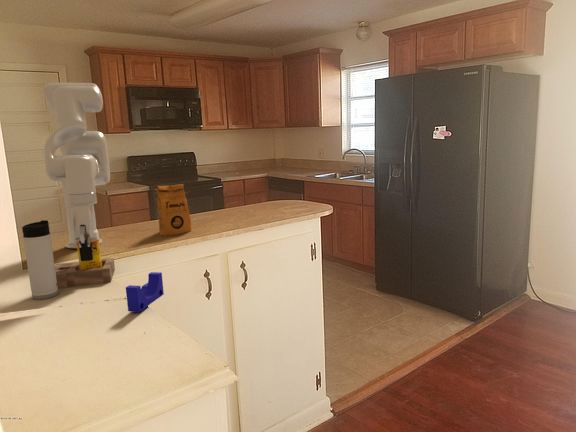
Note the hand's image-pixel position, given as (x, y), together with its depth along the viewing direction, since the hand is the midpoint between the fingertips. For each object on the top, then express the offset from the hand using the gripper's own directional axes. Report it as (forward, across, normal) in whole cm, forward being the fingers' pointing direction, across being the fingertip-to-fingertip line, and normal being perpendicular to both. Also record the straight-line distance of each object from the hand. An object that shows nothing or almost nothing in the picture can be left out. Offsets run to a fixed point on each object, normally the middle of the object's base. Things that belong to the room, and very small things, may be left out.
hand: (89, 256), depth 134 cm
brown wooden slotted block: (+7, 0, -2) cm, 7 cm away
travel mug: (+7, +12, -10) cm, 17 cm away
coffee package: (+7, -45, +26) cm, 52 cm away
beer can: (+7, 0, 0) cm, 7 cm away
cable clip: (+7, +26, +16) cm, 31 cm away
